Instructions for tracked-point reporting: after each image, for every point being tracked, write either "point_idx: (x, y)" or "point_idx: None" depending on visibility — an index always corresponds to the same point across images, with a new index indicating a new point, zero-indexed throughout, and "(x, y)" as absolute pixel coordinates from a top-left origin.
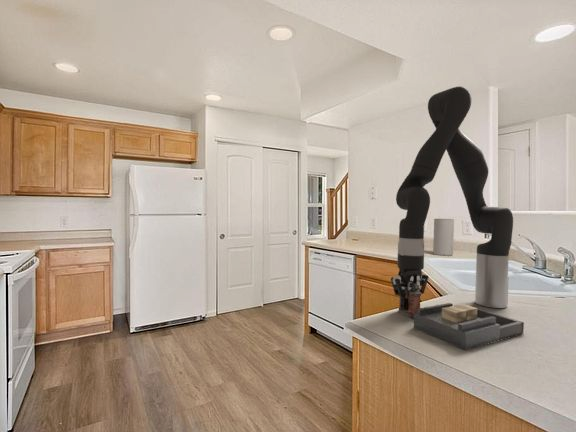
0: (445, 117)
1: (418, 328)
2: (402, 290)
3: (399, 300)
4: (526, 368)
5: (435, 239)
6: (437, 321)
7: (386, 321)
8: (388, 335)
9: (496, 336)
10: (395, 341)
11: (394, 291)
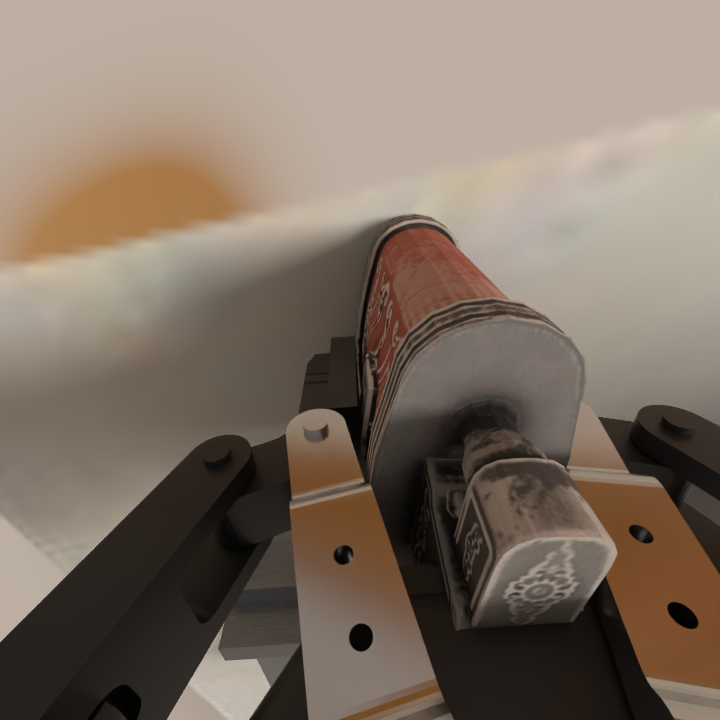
0: None
1: None
2: (227, 607)
3: (392, 272)
4: None
5: None
6: (270, 666)
7: (124, 393)
8: (52, 529)
9: None
10: (64, 569)
11: (157, 493)
